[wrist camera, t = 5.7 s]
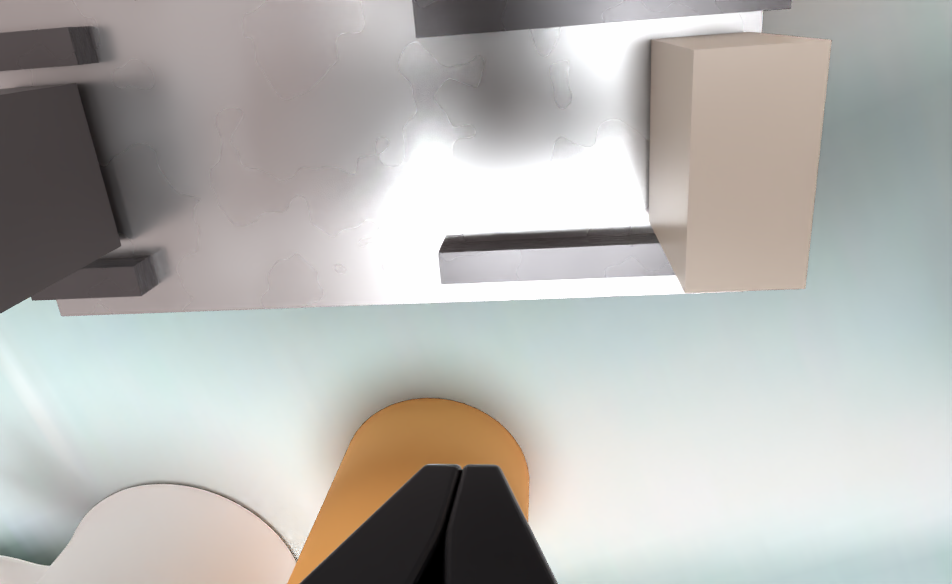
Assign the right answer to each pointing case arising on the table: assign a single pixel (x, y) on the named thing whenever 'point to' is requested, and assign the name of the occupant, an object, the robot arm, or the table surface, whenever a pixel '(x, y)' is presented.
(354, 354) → the table surface
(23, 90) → the toggle black
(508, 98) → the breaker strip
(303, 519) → the table surface
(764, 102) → the beige cardboard box
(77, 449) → the table surface
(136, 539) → the mug
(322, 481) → the table surface
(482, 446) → the orange short rounded piece
